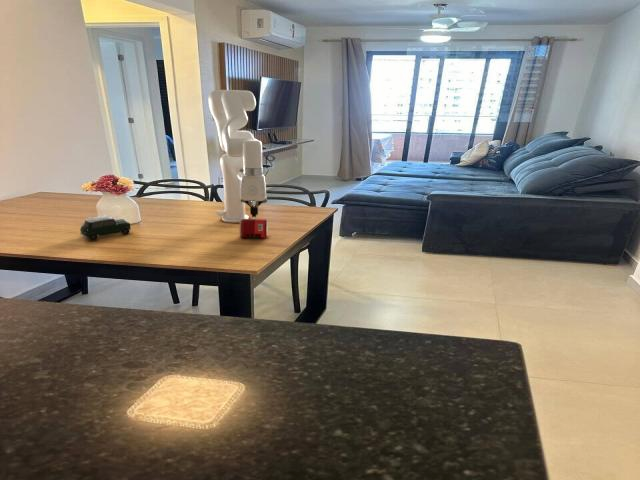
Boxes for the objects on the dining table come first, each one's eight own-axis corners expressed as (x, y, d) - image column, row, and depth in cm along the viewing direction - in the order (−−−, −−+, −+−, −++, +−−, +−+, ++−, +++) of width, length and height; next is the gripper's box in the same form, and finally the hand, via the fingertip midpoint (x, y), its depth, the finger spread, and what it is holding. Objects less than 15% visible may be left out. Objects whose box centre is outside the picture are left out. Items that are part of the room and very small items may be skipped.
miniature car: (133, 233, 161) (131, 215, 158) (85, 242, 149) (82, 222, 146) (126, 228, 167) (123, 210, 164) (79, 237, 155) (75, 218, 152)
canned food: (267, 215, 160) (240, 215, 159) (266, 227, 154) (238, 227, 153) (267, 229, 165) (242, 229, 164) (267, 241, 159) (240, 241, 158)
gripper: (232, 172, 148) (234, 218, 154) (270, 173, 148) (271, 219, 154) (235, 170, 155) (237, 213, 161) (272, 170, 156) (273, 214, 162)
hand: (254, 216), depth 158 cm, fingers closed
